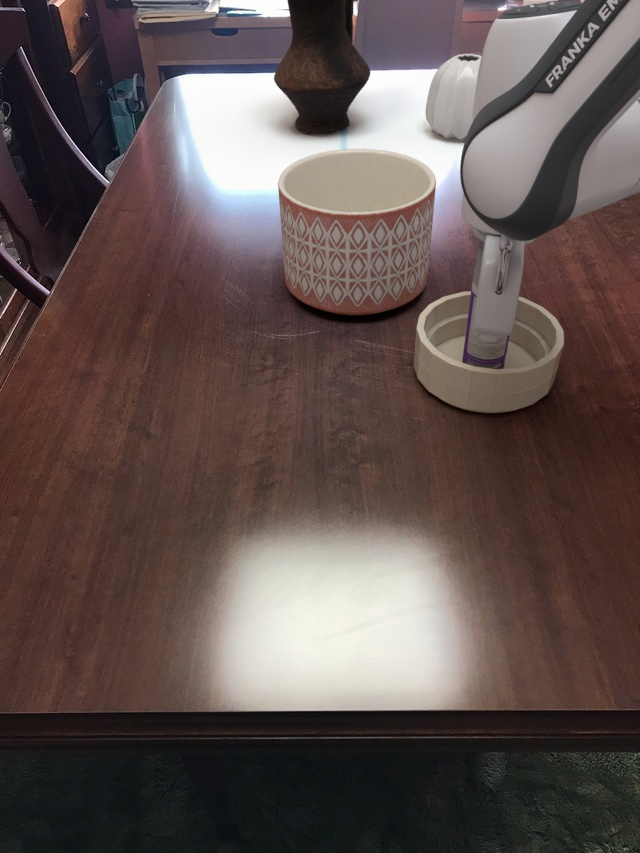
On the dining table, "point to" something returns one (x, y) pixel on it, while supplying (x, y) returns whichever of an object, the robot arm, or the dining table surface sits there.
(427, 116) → the vase
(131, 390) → the dining table surface
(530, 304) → the bowl
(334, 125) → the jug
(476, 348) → the container
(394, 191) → the planter
